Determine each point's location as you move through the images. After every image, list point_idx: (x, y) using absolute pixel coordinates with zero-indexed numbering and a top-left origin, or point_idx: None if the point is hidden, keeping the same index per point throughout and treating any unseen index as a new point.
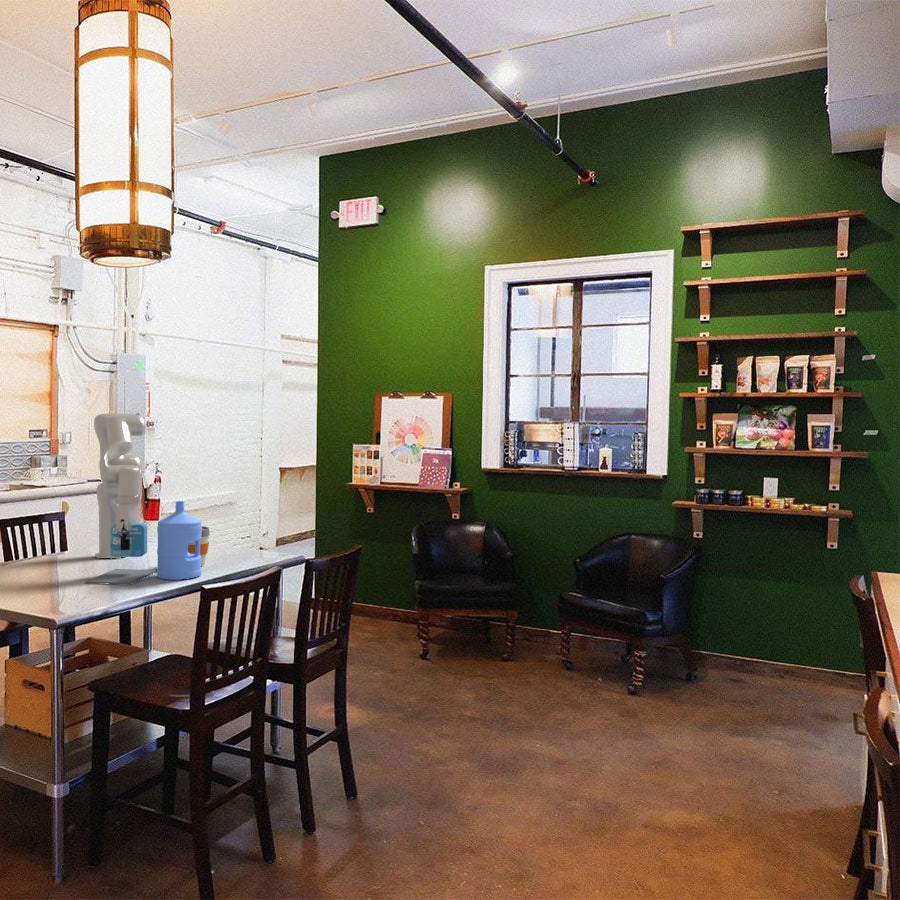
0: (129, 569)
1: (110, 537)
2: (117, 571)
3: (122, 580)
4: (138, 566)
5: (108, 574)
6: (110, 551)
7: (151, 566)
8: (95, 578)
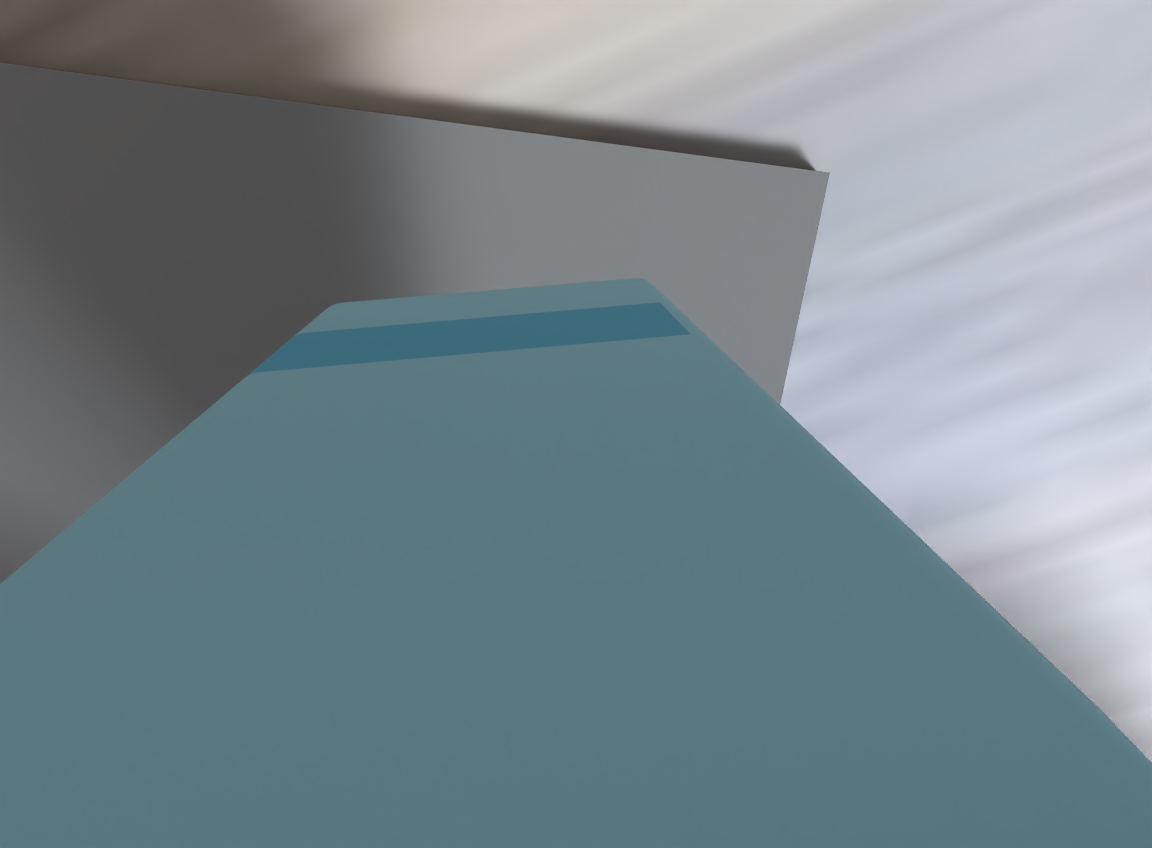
0: (772, 397)
1: (138, 468)
2: (621, 274)
3: (5, 576)
4: (1134, 378)
5: (376, 221)
6: (319, 315)
7: (1104, 544)
8: (30, 129)
